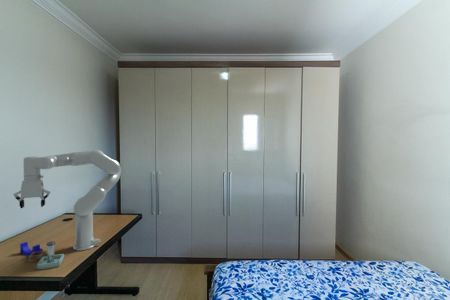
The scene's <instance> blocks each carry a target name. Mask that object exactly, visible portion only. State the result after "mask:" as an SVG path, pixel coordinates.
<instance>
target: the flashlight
mask: <svg viewBox="0 0 450 300" xmlns="http://www.w3.org/2000/svg"><path fill="white" fill-rule="evenodd" d="M55 245H56V241H55V240H54V241H48V242H46V246H47V253H46V254H47V255H46V256H47V263H52V262H54V255H55Z"/></svg>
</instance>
